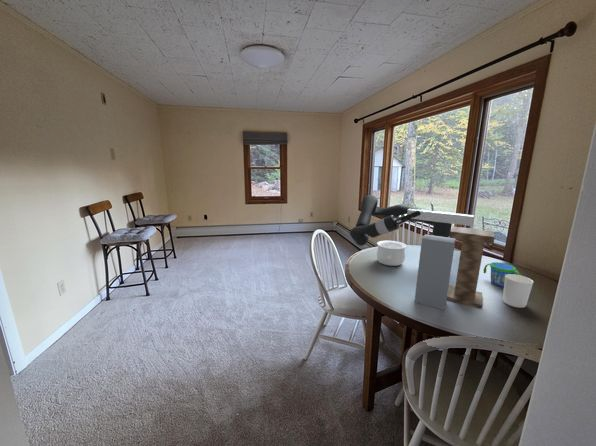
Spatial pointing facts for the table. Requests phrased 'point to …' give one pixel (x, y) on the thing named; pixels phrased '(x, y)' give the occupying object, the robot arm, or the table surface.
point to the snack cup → (500, 272)
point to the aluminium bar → (443, 217)
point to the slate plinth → (434, 270)
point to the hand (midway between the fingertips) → (420, 211)
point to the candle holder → (516, 290)
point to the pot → (391, 252)
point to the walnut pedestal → (469, 265)
